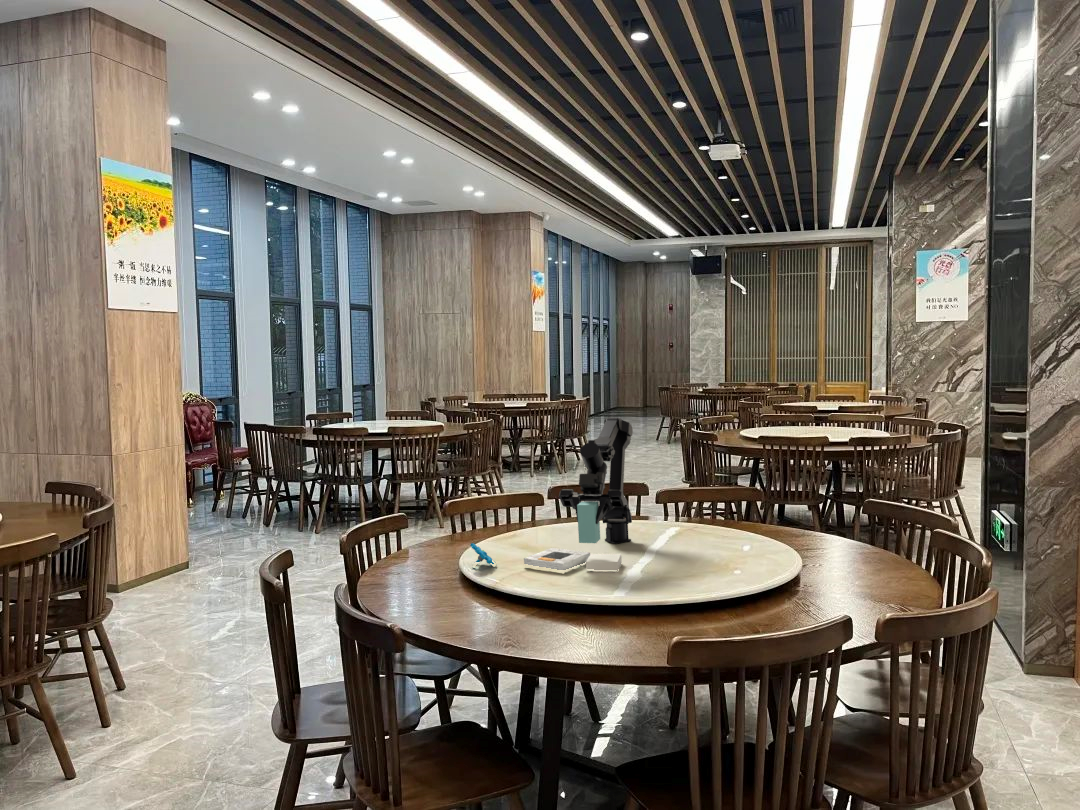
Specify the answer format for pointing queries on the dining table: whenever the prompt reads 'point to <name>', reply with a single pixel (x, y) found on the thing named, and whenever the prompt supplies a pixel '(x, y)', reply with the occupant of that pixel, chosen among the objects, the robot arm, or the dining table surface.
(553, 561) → the hole plate
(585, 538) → the teal square peg
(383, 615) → the dining table surface
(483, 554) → the blue splat disc
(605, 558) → the white flat square block
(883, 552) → the dining table surface
